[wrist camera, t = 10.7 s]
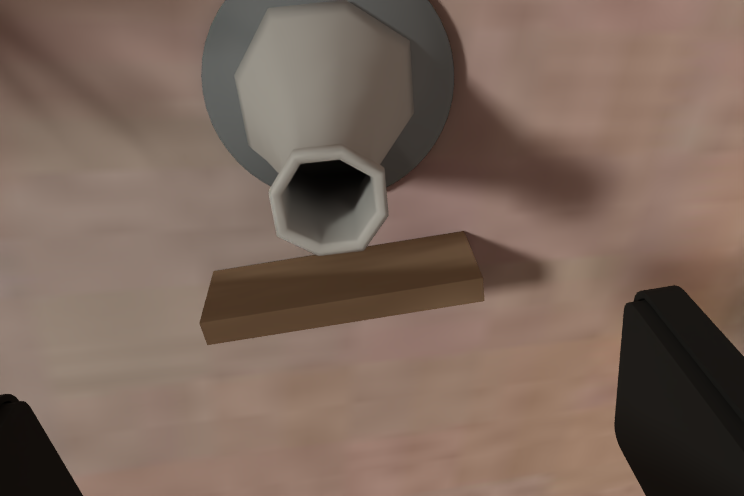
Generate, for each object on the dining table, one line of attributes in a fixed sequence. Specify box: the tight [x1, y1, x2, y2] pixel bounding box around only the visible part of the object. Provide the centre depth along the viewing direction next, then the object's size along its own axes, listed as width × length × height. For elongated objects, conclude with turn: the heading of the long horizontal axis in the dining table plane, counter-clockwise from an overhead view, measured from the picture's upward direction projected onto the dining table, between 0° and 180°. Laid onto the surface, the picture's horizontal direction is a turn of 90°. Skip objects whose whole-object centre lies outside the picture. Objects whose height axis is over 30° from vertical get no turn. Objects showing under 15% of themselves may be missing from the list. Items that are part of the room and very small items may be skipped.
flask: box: [234, 0, 414, 256], centre depth 20 cm, size 7×7×10 cm
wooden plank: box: [200, 231, 484, 345], centre depth 28 cm, size 1×12×4 cm, turn 98°
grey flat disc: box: [201, 0, 454, 187], centre depth 25 cm, size 10×10×1 cm
